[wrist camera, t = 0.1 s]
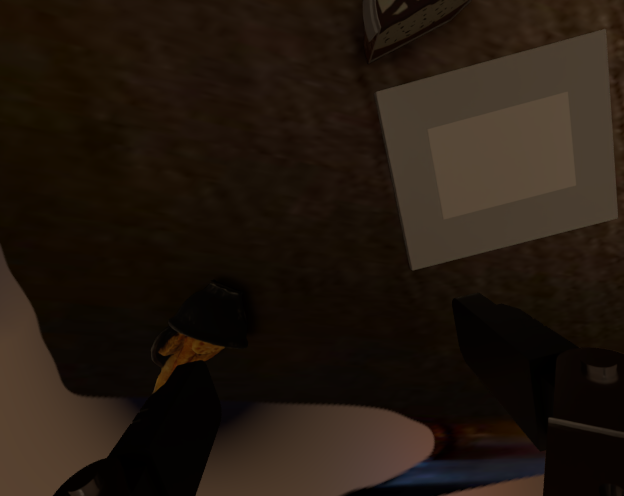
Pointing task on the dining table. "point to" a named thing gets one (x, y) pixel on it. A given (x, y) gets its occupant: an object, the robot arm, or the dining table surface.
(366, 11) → the food container
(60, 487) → the robot arm
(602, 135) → the dock
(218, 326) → the fried shrimp in bowl
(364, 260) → the dining table surface
